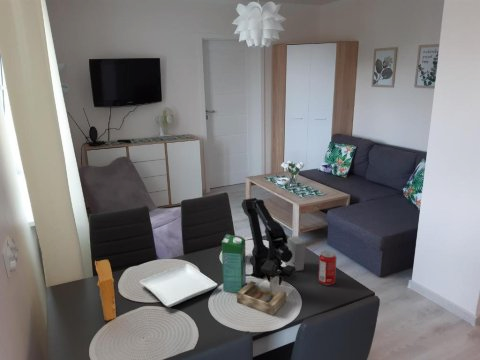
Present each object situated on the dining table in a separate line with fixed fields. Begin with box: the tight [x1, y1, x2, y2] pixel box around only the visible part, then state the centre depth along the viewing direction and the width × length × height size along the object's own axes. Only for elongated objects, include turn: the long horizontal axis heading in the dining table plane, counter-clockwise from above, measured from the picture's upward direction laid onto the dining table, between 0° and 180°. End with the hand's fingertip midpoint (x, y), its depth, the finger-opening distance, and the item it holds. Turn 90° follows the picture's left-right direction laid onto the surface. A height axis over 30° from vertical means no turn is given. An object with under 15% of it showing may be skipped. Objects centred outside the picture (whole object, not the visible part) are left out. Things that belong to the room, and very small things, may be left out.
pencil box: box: [236, 280, 287, 317], centre depth 165 cm, size 18×12×5 cm, turn 56°
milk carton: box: [221, 233, 247, 293], centre depth 175 cm, size 9×9×25 cm
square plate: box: [139, 263, 218, 308], centre depth 178 cm, size 27×27×4 cm
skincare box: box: [284, 235, 307, 272], centre depth 193 cm, size 8×7×16 cm
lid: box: [257, 275, 294, 298], centre depth 175 cm, size 15×10×6 cm, turn 56°
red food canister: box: [318, 250, 337, 286], centre depth 179 cm, size 8×8×15 cm
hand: (274, 283), depth 175 cm, fingers open, 5 cm apart
